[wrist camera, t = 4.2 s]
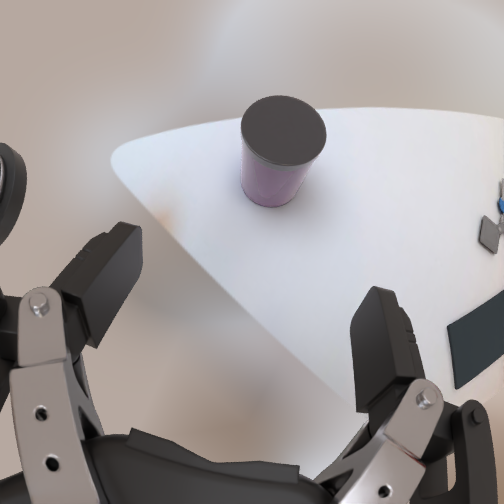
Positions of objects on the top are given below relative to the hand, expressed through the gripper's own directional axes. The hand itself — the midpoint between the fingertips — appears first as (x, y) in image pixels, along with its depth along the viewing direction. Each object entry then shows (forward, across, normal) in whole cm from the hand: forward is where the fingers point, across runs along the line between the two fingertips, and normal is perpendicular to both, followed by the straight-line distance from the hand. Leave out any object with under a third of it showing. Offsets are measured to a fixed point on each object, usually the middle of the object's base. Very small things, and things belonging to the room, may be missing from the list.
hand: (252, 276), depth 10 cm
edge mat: (+9, -26, +9) cm, 29 cm away
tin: (+15, 0, +3) cm, 16 cm away
